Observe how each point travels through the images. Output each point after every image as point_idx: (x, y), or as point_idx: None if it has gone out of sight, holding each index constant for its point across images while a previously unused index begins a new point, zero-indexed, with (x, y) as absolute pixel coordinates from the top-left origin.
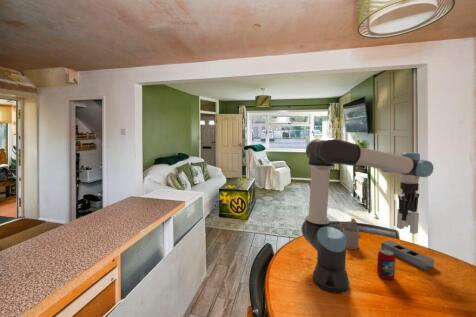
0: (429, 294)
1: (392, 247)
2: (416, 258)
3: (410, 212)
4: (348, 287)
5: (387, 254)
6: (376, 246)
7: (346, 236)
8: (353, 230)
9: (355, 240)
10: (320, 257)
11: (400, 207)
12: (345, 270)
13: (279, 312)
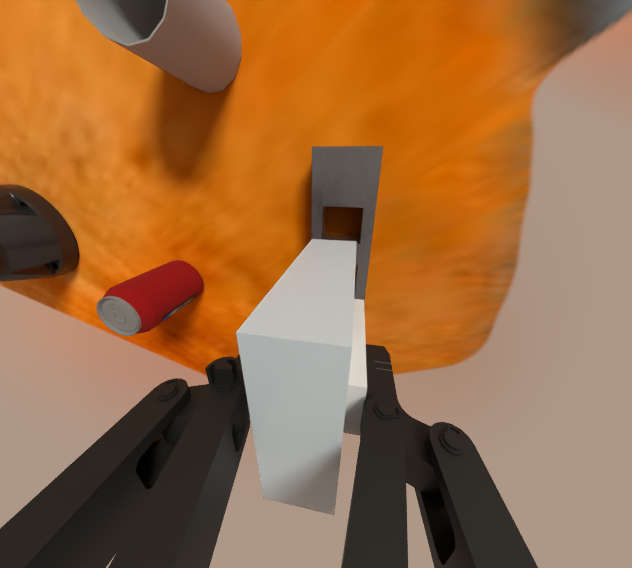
0: (228, 351)
1: (312, 211)
2: None
3: (267, 468)
4: (64, 273)
5: (109, 327)
6: (323, 118)
7: (114, 15)
8: None
9: (173, 73)
10: None
11: (65, 498)
12: (10, 275)
13: None
